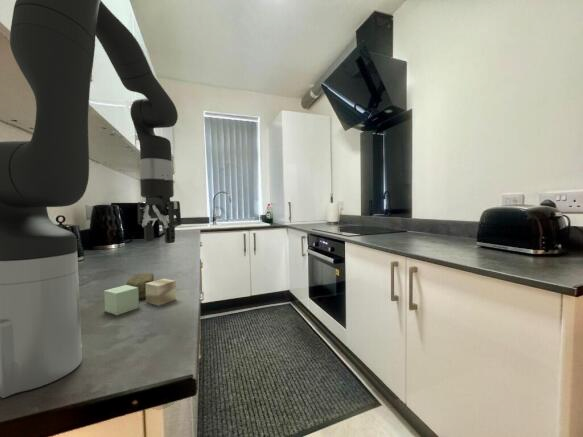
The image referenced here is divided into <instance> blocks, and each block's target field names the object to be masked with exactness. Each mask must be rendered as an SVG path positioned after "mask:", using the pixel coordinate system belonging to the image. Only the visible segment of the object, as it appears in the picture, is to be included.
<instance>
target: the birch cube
mask: <svg viewBox="0 0 583 437" xmlns="http://www.w3.org/2000/svg"><path fill="white" fill-rule="evenodd" d="M145 286H146V298H145V302H146V303H147V304H151V305H154V306H157V307H159V306H162V305H164V304H167V303H169V302H173V301H176V300H177V291H176V280H172V279H167V278H160V279H157V280H154V281H152V282H149V283H145Z"/></svg>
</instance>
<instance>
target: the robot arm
mask: <svg viewBox="0 0 583 437" xmlns="http://www.w3.org/2000/svg"><path fill="white" fill-rule="evenodd" d="M96 38H97V40H98V41H99V43H100V45H101V47H102V48H103V50H104V52H105V54H106V56H107V58H108V59H109V62H110V64H111V65H112V67H113V68H114V70H115V73H116V74H117V76H118V79H119V80H120V82H121V84H122V86H124V88H125V89H126V90H128V91H130V92H132V93H133V92H134V93H138V94H141V95H143V96H144V97H145V98H137V99H135V100H133V102H132V103H131V106H130V111H129V112H130V118H131V121H132V123H133V126H134V129H135V132H136V136H137V139H138V141H139V142H138V143H139V152H140V153H139V155H140V157H139V158H140V164H139V184H140V197H142V198H144V199H145V201H138V202H137V224H138V225H141V226H142V228H143V234H144V235H143V237H144V242H153V241H154V239H155V230H154V229H155V228H154V225H155V222H156V221H158V220H159V221H160V222H162V224H163V226H164V227H165V228H164V242H165V244H173V243H175V241H176V228H177V227H178V226H181V225H182V218H181V217H182V213H181V202H180V201H179V200H177V201H176V200H171V198H173V197H174V196H175V191H174V190H175V189H174V168H173V165H172V164H173V162H172V145H171V144H172V143H171V141H170V139H168V138H167V137H165V136H162V135H161V136H160V135H156V133H155V131H154V130H155V129H163V128H171V127H174V126H176V124H177V121H178V118H179V117H178V116H179V114H178V111H177V107H176V105H175V103H174V101H173V100H172V98H171V97H170V96H169V94H168V93H167V92H166V91H165V89H164V88H163V87H162V85H161V83H160V82H159V81H158V80H157V78H156V76H155V75H154V73H153V70H152V68H151V66H150V64H149V62H148V59H147V58H146V55H145V52H144V50H143V49H142V46H141V45H140V43H139V41H138V39H137V38H136V36H134V34H133V33H132V32H131V30H130V29H129V28H127V27H126V25H125V24H124V23H123V22H122V21H121V20H120V19H119V18H118V17H117V16H116V15H115V14H114V13H113V12H112V11H111V10H110V9H109V8H108V7H107V5H105V3H104V2H103V1H102V0H15V2H14V5H13V12H12V19H11V25H10V33H9V47H10V49H11V50H10V51H11V53H12V55H13V58H14V60H15V62H16V64H17V66H18V68H19V70H20V71H21V73H22V75H23V77H24V78H25V80H26V81H27V83H28V85H29V86H30V89H31V90H32V92H33V96H34V100H35V107H36V109H35V111H36V112H35V123H34V127H33V128H34V129H33V133H32V136H31V139H30V140H17V141H12V140H11V141H0V398H1V399H4V398H8V397H9V396H12V395H14V394H17V393H22V392H26V391H30V390H33V389H37V388H41V387H43V386H46V385H48V384H51V383H53V382H56V381H57V380H60V379H61V378H63V377H65V376H67V375H69V374H70V373H71V372H73V371H74V370H76V369H77V368H78V367H79V365H81V363H82V361H83V353H82V352H83V351H82V350H83V345H82V330H81V329H82V328H81V327H82V326H81V306H80V305H81V304H80V284H79V280H80V279H79V260H78V258H79V257H78V241H77V236H76V235H75V233H74V232H72V231H69V230H67V229H65V228H62V227H60V226H58V225H57V224H55V223H54V222H53V221H52V220H51V218H50V217H49V214H48V209H47V208H62V207H63V208H64V207H70V206H72V205H75V204H76V203H78V202H80V200H81V199H82V198H83V196H84V195H85V193H86V190H87V187H88V183H89V179H90V178H89V177H90V155H89V154H90V151H89V150H90V146H89V143H90V142H89V109H90V108H89V107H90V91H91V81H92V73H93V70H94V68H93V67H94V58H95V49H96Z"/></svg>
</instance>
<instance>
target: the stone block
mask: <svg viewBox="0 0 583 437" xmlns="http://www.w3.org/2000/svg"><path fill="white" fill-rule="evenodd" d="M152 281H155V280H154V273H153V272H149V273H133V274H132V275H131V276H130V278H129V279H128V280H127V282H126V283H125V285H129V286H133V287H138V296H139V300H141V299H142V300H143V299H146V286H145V283H149V282H152Z"/></svg>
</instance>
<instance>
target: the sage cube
mask: <svg viewBox="0 0 583 437" xmlns="http://www.w3.org/2000/svg"><path fill="white" fill-rule="evenodd" d="M103 293H104V312H106V313H109V314H112V315H115V316H119V315H122V314H125V313H127V312H131V311H133V310H136V309H139V307H140V306H139V304H140V303H139V302H140V301H139V300H140V299H139V296H138V287H133V286H129V285H126V284H124V285H121V286H117V287H113V288H109V289H106V290H104V291H103Z"/></svg>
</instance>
